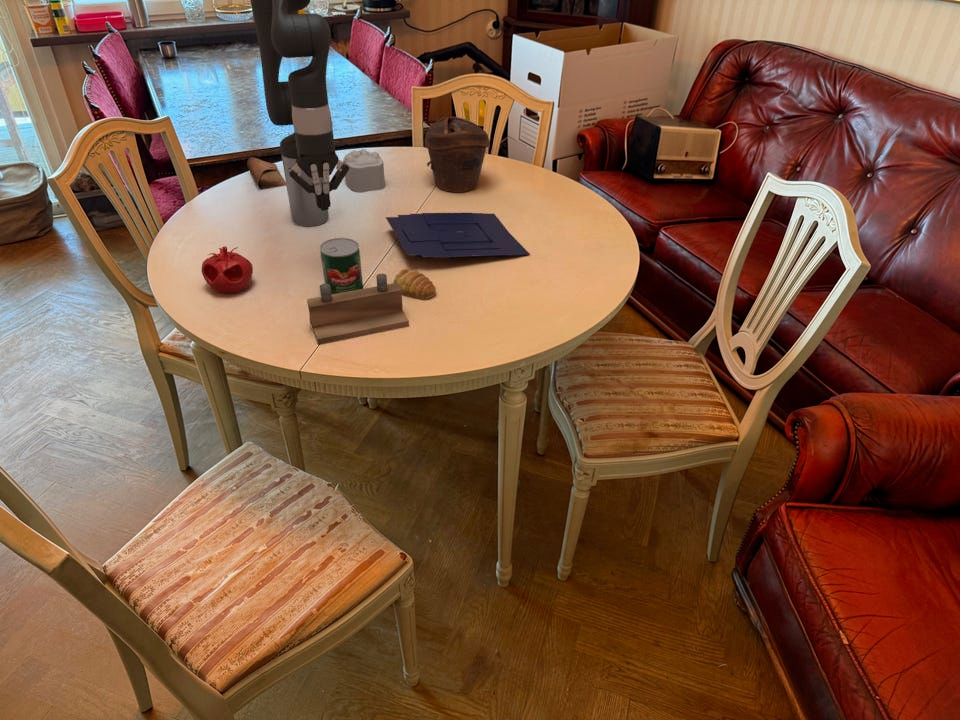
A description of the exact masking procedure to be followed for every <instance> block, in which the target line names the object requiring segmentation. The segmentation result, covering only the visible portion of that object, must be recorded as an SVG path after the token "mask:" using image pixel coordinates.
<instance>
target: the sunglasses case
mask: <svg viewBox="0 0 960 720" xmlns="http://www.w3.org/2000/svg"><path fill="white" fill-rule="evenodd" d="M247 159H248V160H247V161H246V166H247V168H248V170H249V172H250V174H251V177H252V178H253V180H254V182H255V184H256V187H257V188H258V189H260V190H267V189H273V188H280V187H287V186H286V179H284V177H283V175H282V174H281V173H280V170H279V168H278V167H277V163H272V162H269V161H264V160H262V159H260V158H257V157H256V158H255V157H253V156H252V157H249V158H247Z"/></svg>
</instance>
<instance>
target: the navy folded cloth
mask: <svg viewBox="0 0 960 720" xmlns="http://www.w3.org/2000/svg"><path fill="white" fill-rule="evenodd" d="M385 219H386V221H387V222H388V224H389V227H391V230H392V231H393V232H394V234H395V236H396V238H397V240H398V241H399V243H400V245H401V248H403V251H404V253H405V254H406V256H421V257H422V258H441V259H442V258H455V257H459V258H460V257H483V256H486V257H487V256H524V255H531V253H530V252H529V251H528V250H526V248H525V247H524V246H523V245H522V243H520V242H519V241H518V240H517V239H516V238H515V237H514V236H513V235H512V234H511V233H510V231H509V230H507V228H506V226H504V224H503V223H502V221H500V219H499V218H498V217H497V215H496V213H487V212H486V213H483V212H421V213H409V214H397V216H389V217H388V216H386V217H385Z"/></svg>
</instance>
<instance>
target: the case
mask: <svg viewBox="0 0 960 720" xmlns="http://www.w3.org/2000/svg"><path fill="white" fill-rule="evenodd" d="M490 144H491V143H490V138H489V134H488V133H487V131H485V130H484V129H482V127H481V126H479V125H478V124H476V123H474V122H473V121H470V120H468V119H465V118H463V117H459V116H446V117H442V118H440V119H437V120H436V121H435V122H433V123H431V125H430V126H429V128H428V129H427V132H426V134H425V138H424V146H425V149H427V150H428V151H427V152H428V155H429V161H427V163H426V166H427V167H428V168H429V166H430V170H431V171H432V174H433V180H434V184H435V185H436V186H437V187H438V189H440V190H443V191H446V192H451V193H461V192H468V191H472V190H474V189H475V188H476V187H478V185H479V180H480V176H481V172H482V168H483V165H484V159H485V155H486V151H487V148H488V149H490V146H491V145H490Z"/></svg>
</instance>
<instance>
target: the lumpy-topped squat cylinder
mask: <svg viewBox="0 0 960 720" xmlns="http://www.w3.org/2000/svg"><path fill="white" fill-rule="evenodd" d="M342 162H346V163H347V165H348V166H349V170H348V172H347V174H346V175H345V177H344V180H345V186H347V188H348V189H349V190H350V191H352V192H354V193H367V192H372V191H381V190H383V189H384V188H385V187H386V183H385V180H386V179H385V168H384V167H385V165H384V160H383V158H382V157H381V156H380V154H379V153H378V152H377V151H372V152H371V151H368V150H367V149H364V148H363V149H360V150H355V149H353V150H352V151H350V152H348V153H346V154H345V155H344V157H343V161H342Z"/></svg>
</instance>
